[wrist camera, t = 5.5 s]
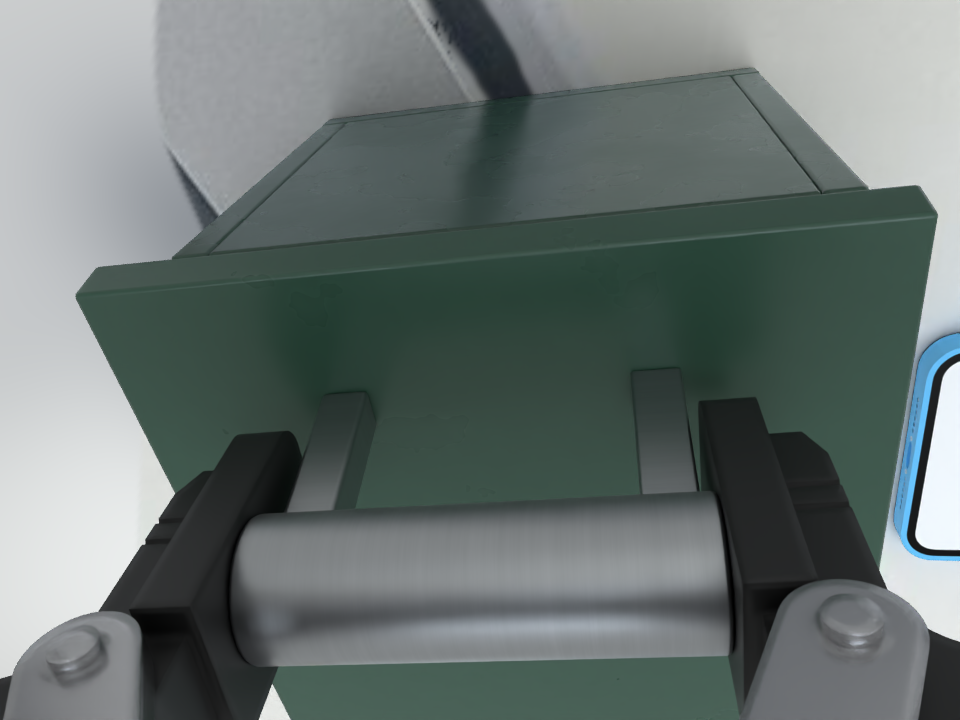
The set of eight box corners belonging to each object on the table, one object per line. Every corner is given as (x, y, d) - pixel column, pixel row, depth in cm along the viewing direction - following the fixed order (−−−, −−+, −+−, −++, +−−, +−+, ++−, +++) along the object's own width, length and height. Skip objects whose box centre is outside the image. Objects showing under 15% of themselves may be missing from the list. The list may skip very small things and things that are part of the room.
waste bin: (328, 119, 25) (167, 257, 15) (755, 67, 23) (871, 186, 14) (396, 439, 29) (305, 696, 20) (756, 416, 28) (844, 687, 18)
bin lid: (95, 265, 13) (-106, 522, 9) (920, 181, 11) (1104, 457, 8) (303, 696, 20) (237, 952, 16) (844, 686, 18) (921, 972, 14)
